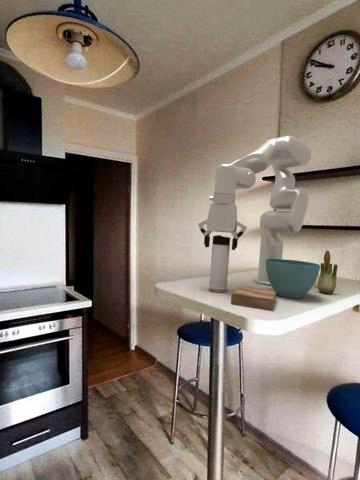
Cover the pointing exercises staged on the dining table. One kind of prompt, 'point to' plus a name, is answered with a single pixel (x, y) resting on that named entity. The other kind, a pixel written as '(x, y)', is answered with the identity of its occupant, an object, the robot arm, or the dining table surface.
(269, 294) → the walnut board
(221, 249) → the travel mug
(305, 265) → the teal bowl
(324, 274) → the fennel bulb
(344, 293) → the dining table surface
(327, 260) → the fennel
